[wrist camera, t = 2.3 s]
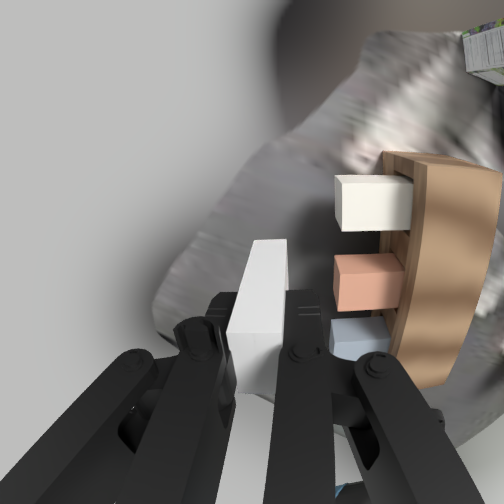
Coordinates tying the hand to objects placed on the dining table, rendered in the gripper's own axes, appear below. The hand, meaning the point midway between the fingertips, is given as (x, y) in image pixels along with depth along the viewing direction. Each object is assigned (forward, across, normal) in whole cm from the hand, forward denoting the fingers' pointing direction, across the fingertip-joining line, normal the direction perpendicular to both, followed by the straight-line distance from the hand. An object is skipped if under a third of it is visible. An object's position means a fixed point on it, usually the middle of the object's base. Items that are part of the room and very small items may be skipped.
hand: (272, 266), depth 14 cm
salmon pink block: (+14, -10, +8) cm, 19 cm away
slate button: (+14, -10, +16) cm, 23 cm away
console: (+18, -15, +8) cm, 25 cm away
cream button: (+14, -9, 0) cm, 17 cm away
